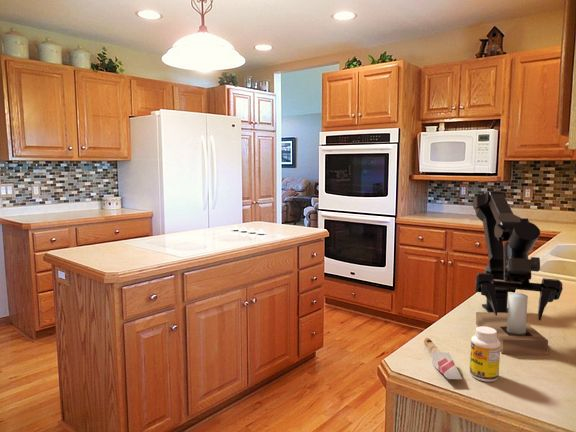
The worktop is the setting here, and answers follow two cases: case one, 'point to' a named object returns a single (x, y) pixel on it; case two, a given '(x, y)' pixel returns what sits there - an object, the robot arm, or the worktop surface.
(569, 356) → the worktop surface
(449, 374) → the paintbrush
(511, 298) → the peg
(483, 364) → the supplement bottle
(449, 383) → the worktop surface
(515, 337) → the brown holed block
